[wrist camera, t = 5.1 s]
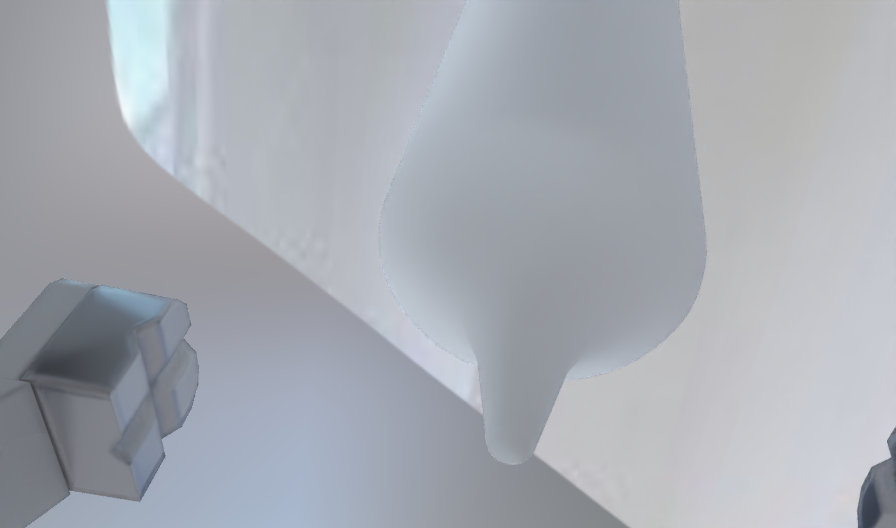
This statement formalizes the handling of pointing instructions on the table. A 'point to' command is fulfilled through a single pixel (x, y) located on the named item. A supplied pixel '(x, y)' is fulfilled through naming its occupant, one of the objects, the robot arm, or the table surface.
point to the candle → (549, 201)
